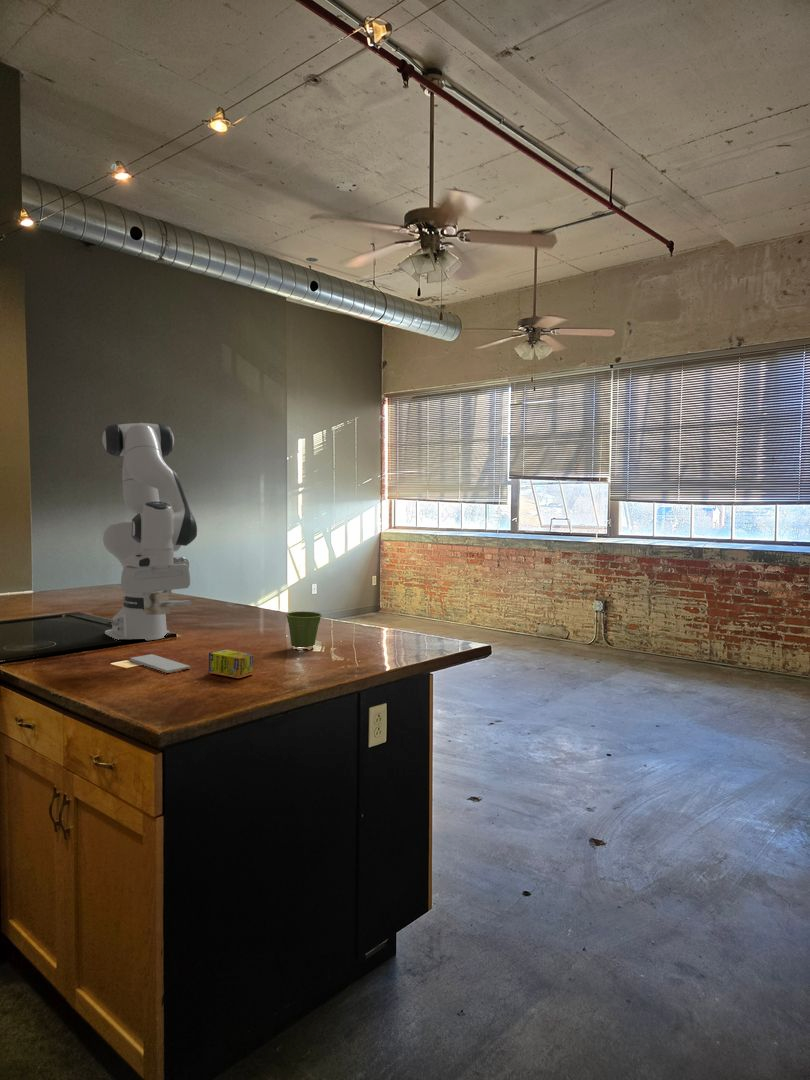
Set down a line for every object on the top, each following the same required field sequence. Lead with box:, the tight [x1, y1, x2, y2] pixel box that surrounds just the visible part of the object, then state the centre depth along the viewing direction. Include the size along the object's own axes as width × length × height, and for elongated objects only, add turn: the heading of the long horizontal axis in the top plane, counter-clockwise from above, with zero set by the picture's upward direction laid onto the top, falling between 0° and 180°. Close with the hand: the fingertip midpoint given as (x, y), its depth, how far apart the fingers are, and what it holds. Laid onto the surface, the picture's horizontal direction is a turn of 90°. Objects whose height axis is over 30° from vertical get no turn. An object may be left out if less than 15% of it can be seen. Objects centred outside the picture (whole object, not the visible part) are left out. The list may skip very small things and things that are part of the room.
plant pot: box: [284, 611, 323, 647], centre depth 223 cm, size 12×12×11 cm
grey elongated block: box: [144, 592, 193, 615], centre depth 196 cm, size 17×5×6 cm, turn 53°
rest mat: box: [129, 653, 191, 673], centre depth 196 cm, size 20×7×1 cm, turn 50°
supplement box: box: [208, 649, 254, 676], centre depth 188 cm, size 6×6×11 cm
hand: (156, 606), depth 199 cm, fingers closed on grey elongated block, 3 cm apart
